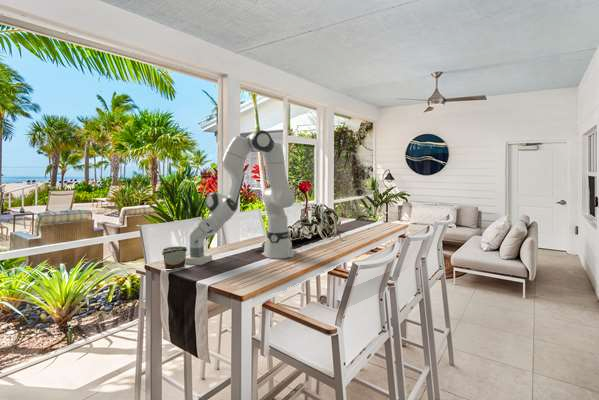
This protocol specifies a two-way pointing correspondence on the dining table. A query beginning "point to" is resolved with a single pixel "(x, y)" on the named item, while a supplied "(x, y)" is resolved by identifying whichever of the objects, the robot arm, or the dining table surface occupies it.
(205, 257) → the stand
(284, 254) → the robot arm
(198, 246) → the block
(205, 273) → the dining table surface
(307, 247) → the dining table surface
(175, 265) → the food container
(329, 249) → the dining table surface
